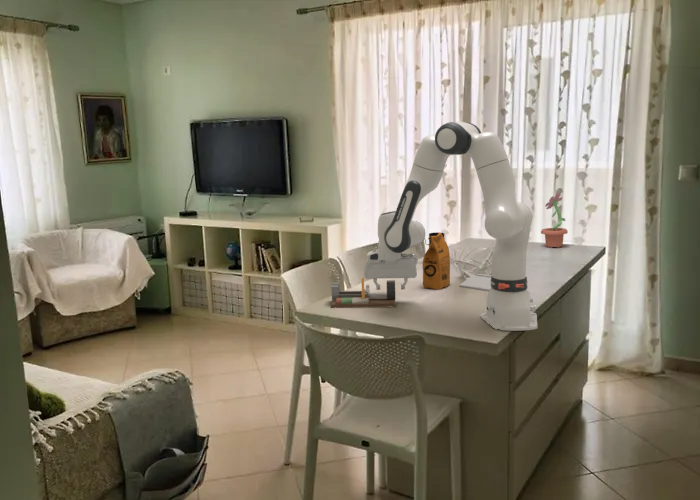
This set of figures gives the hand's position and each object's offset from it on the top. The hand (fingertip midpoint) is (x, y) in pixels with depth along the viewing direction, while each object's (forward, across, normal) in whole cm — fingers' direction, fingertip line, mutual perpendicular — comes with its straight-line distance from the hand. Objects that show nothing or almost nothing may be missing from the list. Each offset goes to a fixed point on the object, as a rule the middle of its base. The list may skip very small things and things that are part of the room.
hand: (390, 289), depth 233 cm
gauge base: (+5, +10, 0) cm, 12 cm away
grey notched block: (+3, +5, +2) cm, 6 cm away
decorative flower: (+5, -88, -109) cm, 140 cm away
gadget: (+6, -41, -27) cm, 49 cm away
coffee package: (+5, -19, -24) cm, 31 cm away
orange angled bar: (+2, +10, +5) cm, 12 cm away
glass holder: (+5, -19, -70) cm, 73 cm away
